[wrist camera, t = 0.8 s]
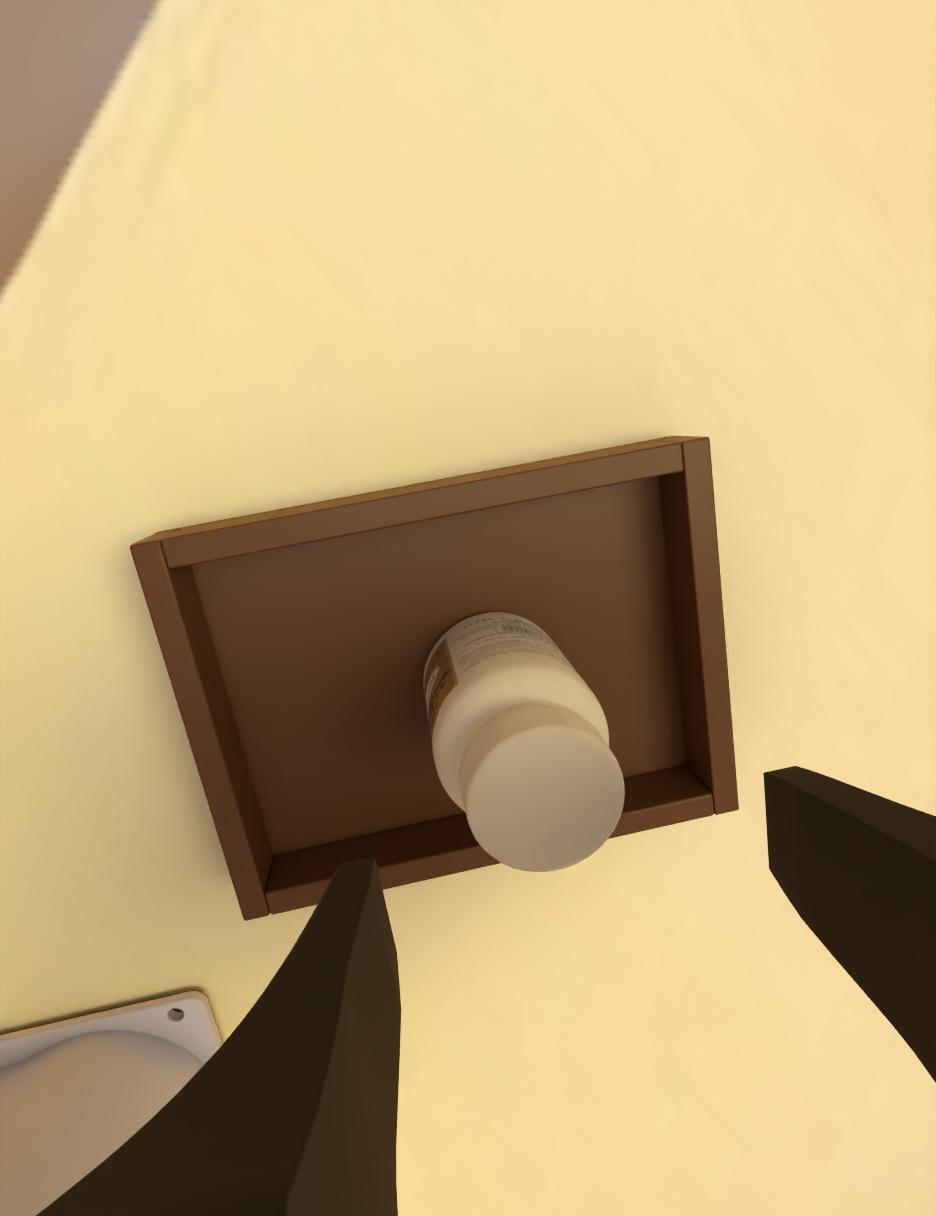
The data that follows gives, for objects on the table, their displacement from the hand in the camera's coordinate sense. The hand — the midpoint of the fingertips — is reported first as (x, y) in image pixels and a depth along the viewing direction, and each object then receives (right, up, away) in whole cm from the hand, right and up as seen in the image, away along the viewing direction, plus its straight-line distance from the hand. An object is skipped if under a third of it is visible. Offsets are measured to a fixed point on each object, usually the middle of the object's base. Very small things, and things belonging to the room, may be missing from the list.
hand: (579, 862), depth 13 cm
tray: (-2, +3, +10) cm, 10 cm away
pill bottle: (-1, +2, +10) cm, 10 cm away
